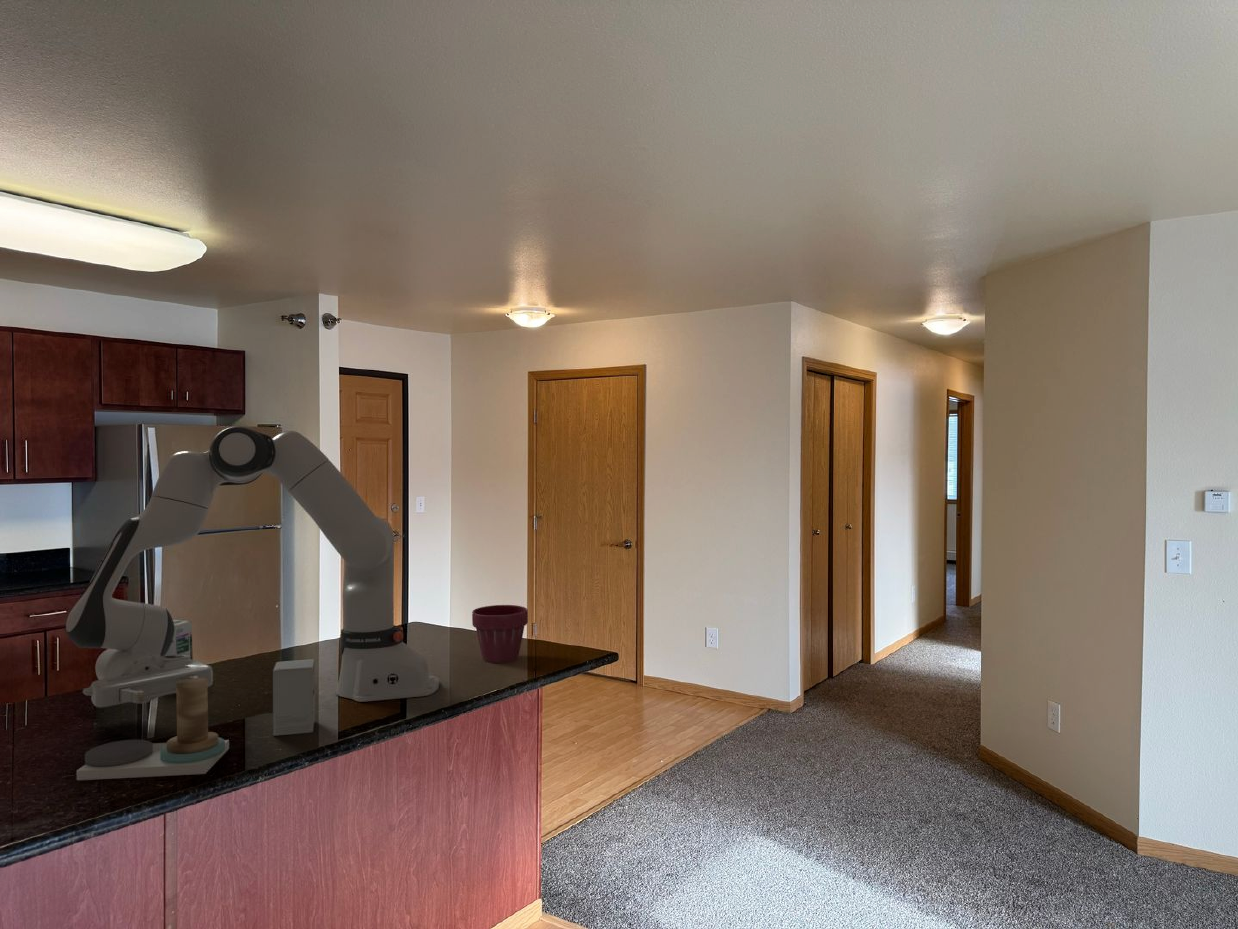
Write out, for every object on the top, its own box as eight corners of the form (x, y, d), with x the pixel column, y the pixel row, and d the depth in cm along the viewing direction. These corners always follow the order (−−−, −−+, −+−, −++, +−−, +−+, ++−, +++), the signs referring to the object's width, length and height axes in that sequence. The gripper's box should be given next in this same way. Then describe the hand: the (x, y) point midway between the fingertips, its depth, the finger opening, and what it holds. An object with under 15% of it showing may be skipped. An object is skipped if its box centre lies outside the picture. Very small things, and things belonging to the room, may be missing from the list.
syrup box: (176, 688, 192) (175, 625, 192) (153, 687, 193) (153, 624, 193) (193, 681, 198) (193, 620, 198) (171, 680, 199) (171, 619, 199)
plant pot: (484, 668, 208) (483, 617, 208) (464, 656, 221) (464, 608, 220) (536, 661, 216) (536, 611, 215) (515, 650, 228) (514, 602, 228)
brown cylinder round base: (224, 737, 150) (224, 674, 150) (208, 753, 143) (208, 687, 142) (177, 739, 149) (176, 676, 149) (158, 755, 142) (157, 689, 141)
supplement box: (313, 733, 161) (313, 667, 161) (272, 736, 159) (271, 670, 159) (316, 721, 168) (315, 658, 168) (276, 724, 166) (275, 661, 166)
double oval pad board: (234, 748, 153) (234, 733, 153) (211, 773, 141) (211, 756, 141) (105, 754, 150) (104, 739, 150) (70, 780, 138) (69, 763, 138)
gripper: (79, 672, 155) (103, 686, 146) (195, 653, 170) (224, 664, 161) (79, 707, 155) (104, 723, 146) (196, 684, 170) (224, 697, 161)
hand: (168, 692), depth 153 cm, fingers open, 8 cm apart
